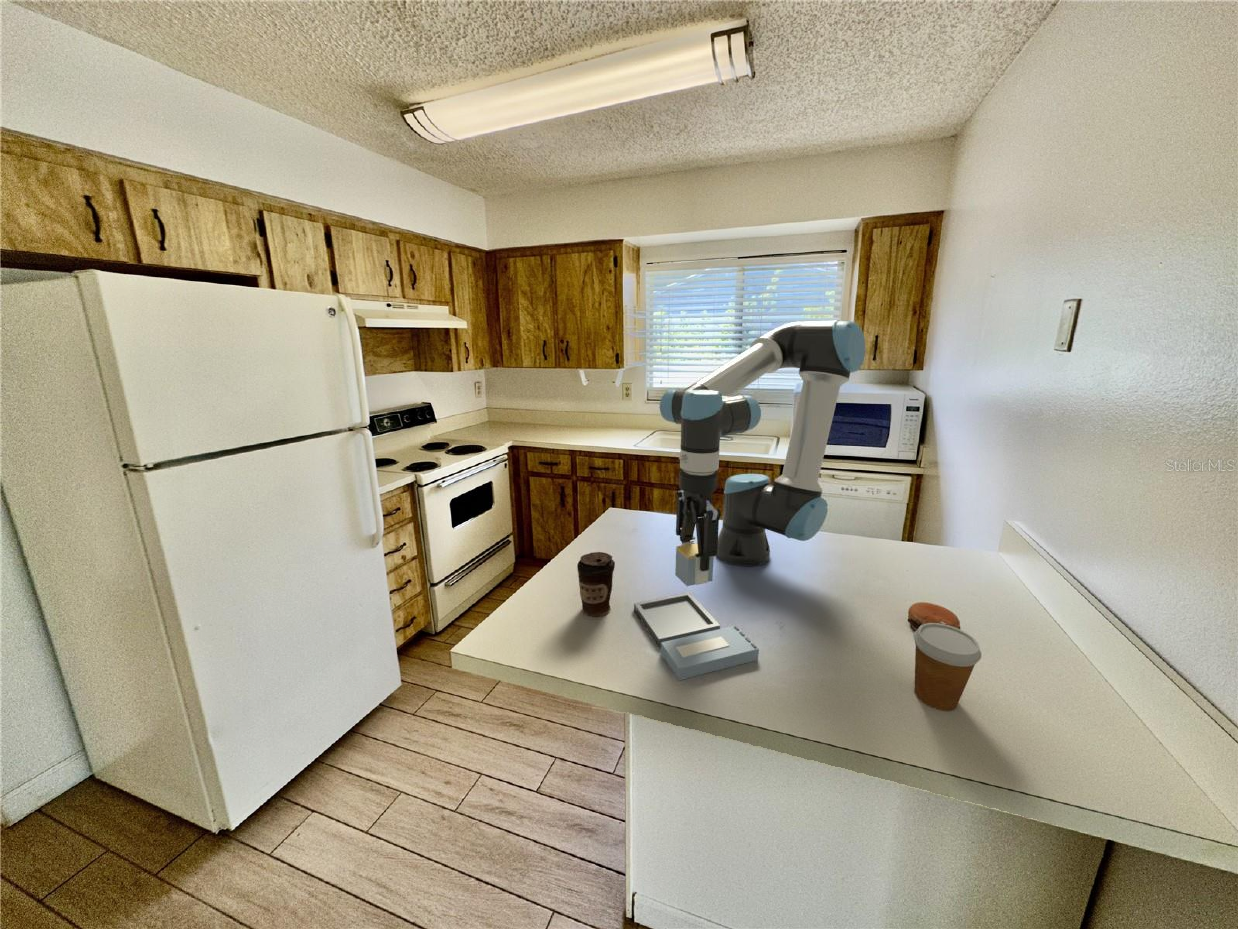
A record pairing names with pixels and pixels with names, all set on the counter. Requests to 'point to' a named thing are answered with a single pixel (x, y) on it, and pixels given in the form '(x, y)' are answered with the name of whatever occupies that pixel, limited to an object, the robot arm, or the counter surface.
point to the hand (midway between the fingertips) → (693, 576)
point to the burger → (931, 615)
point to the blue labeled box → (708, 652)
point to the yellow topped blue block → (689, 564)
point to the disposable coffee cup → (943, 664)
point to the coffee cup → (595, 582)
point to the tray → (674, 617)
